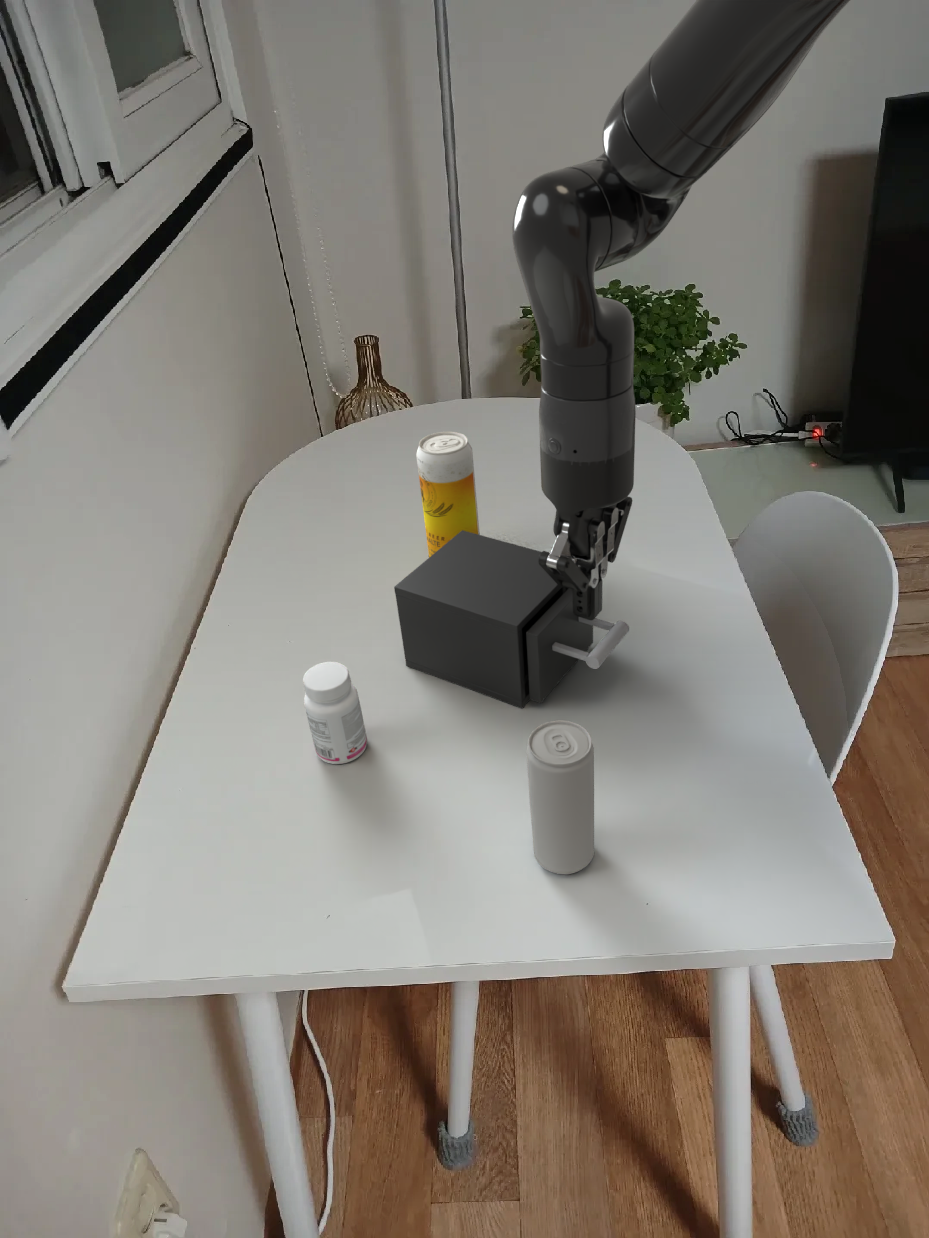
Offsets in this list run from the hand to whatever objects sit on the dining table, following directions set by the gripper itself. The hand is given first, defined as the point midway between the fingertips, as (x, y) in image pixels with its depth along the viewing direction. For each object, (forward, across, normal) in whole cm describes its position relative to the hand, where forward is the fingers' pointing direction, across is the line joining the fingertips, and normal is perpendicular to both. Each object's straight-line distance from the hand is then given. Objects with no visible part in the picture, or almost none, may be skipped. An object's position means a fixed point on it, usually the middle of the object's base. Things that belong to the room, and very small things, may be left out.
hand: (587, 613), depth 86 cm
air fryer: (+9, 0, +11) cm, 14 cm away
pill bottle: (+9, -18, +16) cm, 25 cm away
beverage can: (+9, -19, -8) cm, 22 cm away
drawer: (+8, 0, +6) cm, 10 cm away
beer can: (+9, +13, +24) cm, 29 cm away
